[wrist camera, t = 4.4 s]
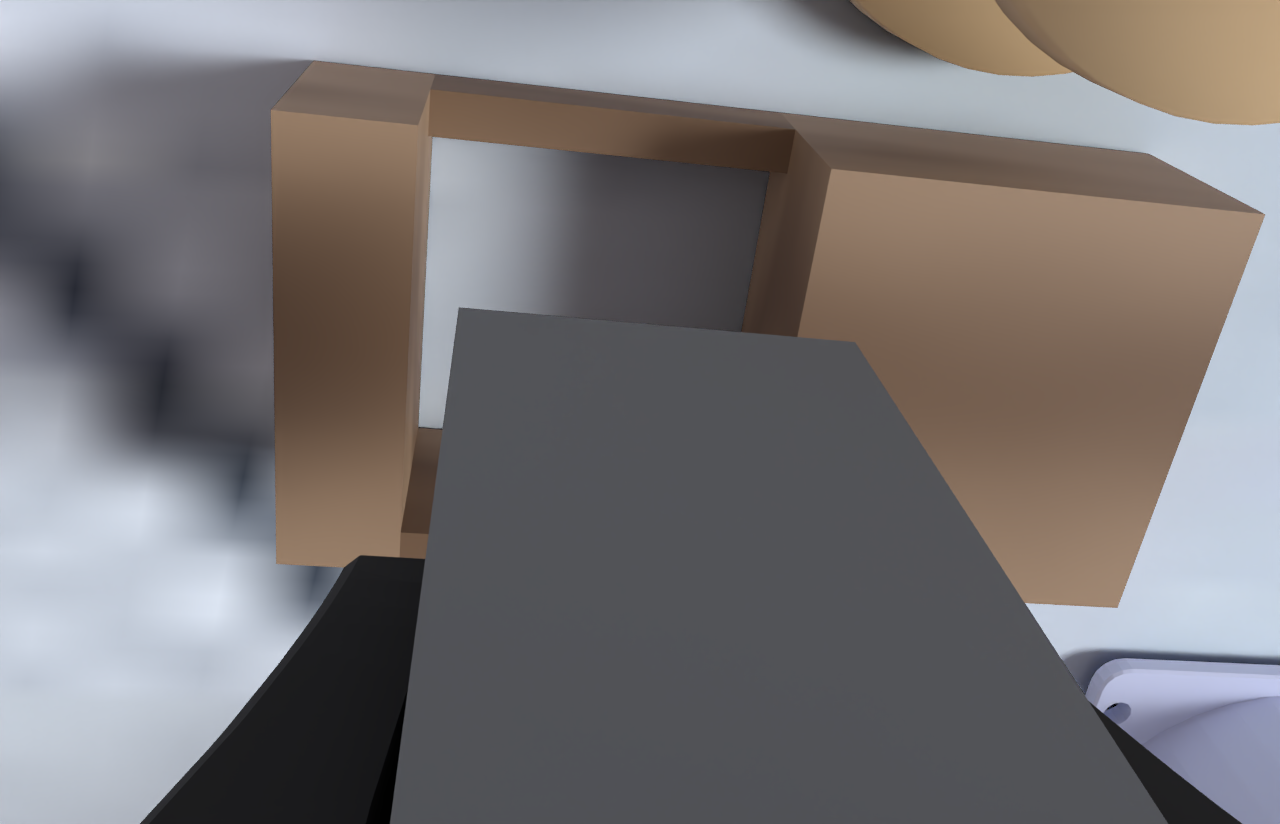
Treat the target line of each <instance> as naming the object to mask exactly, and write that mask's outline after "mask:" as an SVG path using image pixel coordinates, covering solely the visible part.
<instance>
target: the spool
mask: <svg viewBox="0 0 1280 824" xmlns="http://www.w3.org/2000/svg"><path fill="white" fill-rule="evenodd" d="M849 1H850V2H851V3H852V4H853V5H854V6H855V7H856V8H857V9H859V10H860V11H861V12H862V13H863V14H865V15H866V16H867V17H869V18H870V19H871V20H873V21H874V22H875V23H877V24H878V25H879V26H881V27H882V28H884V29H885V30H886V31H888V32H890V33H892V34H893V35H895V36H897V37H899V38H901V39H902V40H904V41H906V42H908V43H910V44H912V45H913V46H915V47H917V48H919V49H921V50H923V51H925V52H927V53H929V54H930V55H932V56H934V57H936V58H939V59H941V60H944V61H947V62H950V63H953V64H956V65H958V66H961V67H964V68H967V69H972V70H977V71H982V72H987V73H992V74H998V75H1012V76H1044V75H1055V74H1066V73H1071V72H1074V73H1076V74H1078V75H1080V76H1082V77H1083V78H1085V79H1087V80H1089V81H1091V82H1093V83H1095V84H1097V85H1100V86H1102V87H1104V88H1106V89H1109V90H1111V91H1113V92H1115V93H1118V94H1120V95H1122V96H1124V97H1126V98H1129V99H1131V100H1133V101H1135V102H1138V103H1140V104H1143V105H1146V106H1148V107H1151V108H1154V109H1157V110H1160V111H1162V112H1165V113H1168V114H1171V115H1174V116H1177V117H1183V118H1188V119H1193V120H1198V121H1203V122H1209V123H1215V124H1238V125H1261V124H1271V123H1280V0H849Z"/></svg>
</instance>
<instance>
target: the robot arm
mask: <svg viewBox="0 0 1280 824" xmlns="http://www.w3.org/2000/svg"><path fill="white" fill-rule="evenodd" d="M424 565H425V559H419V558H402V557H385V556H368V555H360V556H358V557H357V558H356V559H354V560H353V561H352V562H350V563H349V564H348V565H346V566H345V567H344V569H343V570H342V572H341V574H340V576H339V578H338V579H337V581H336V583H335V584H334V586H333V588H332V589H331V591H330V592H329V594H328V595H327V597H326V599H325V600H324V602H323V603H322V605H321V606H320V608H319V609H318V611H317V612H316V614H315V615H314V616H313V618H312V619H311V621H310V622H309V624H308V625H307V626H306V628H305V629H304V631H303V632H302V633H301V635H300V636H299V637H298V639H297V640H296V641H295V643H294V644H293V645H292V647H291V648H290V650H289V651H288V652H287V654H286V655H285V656H284V658H283V659H282V660H281V662H280V663H279V664H278V666H277V667H276V668H275V669H274V670H273V672H272V673H271V674H270V675H269V677H268V678H267V679H266V680H265V682H264V683H263V684H262V685H261V687H260V688H259V689H258V690H257V691H256V693H255V694H254V695H253V696H252V698H251V699H250V700H249V701H248V703H247V704H246V705H245V706H244V708H243V709H242V710H241V711H240V712H239V714H238V715H237V716H236V717H235V719H234V720H233V721H232V722H231V724H230V725H229V726H228V727H227V728H226V730H225V731H224V732H223V733H222V734H221V735H220V737H219V738H218V739H217V740H216V741H215V742H214V744H213V745H212V746H211V747H210V748H209V749H208V750H207V751H206V752H205V754H204V755H203V756H202V757H201V758H200V759H199V760H198V761H197V762H196V763H195V764H194V766H193V767H192V768H191V769H190V770H189V771H188V772H187V773H186V774H185V775H184V776H183V777H182V779H181V780H180V781H179V782H178V783H177V784H176V785H175V786H174V787H173V788H172V789H171V791H170V792H169V793H168V794H167V795H166V796H165V797H164V798H163V799H162V800H161V801H160V803H159V804H158V805H157V806H156V807H155V808H154V809H153V810H152V811H151V812H150V813H149V814H148V816H147V817H146V818H145V819H144V820H143V821H142V822H141V823H140V824H390V820H391V812H392V805H393V797H394V790H395V782H396V775H397V767H398V760H399V752H400V745H401V737H402V730H403V722H404V715H405V707H406V700H407V692H408V685H409V677H410V670H411V662H412V655H413V647H414V640H415V632H416V625H417V617H418V610H419V602H420V595H421V588H422V580H423V573H424ZM1085 697H1086V698H1087V700H1088V701H1089V703H1090V704H1091V706H1092V707H1093V709H1094V710H1095V712H1096V713H1097V715H1098V717H1099V718H1100V720H1101V721H1102V723H1103V724H1104V726H1105V727H1106V729H1107V730H1108V732H1109V733H1110V735H1111V737H1112V738H1113V740H1114V741H1115V743H1116V744H1117V746H1118V747H1119V749H1120V750H1121V752H1122V753H1123V755H1124V757H1125V758H1126V760H1127V761H1128V763H1129V764H1130V766H1131V767H1132V769H1133V770H1134V772H1135V773H1136V775H1137V777H1138V778H1139V780H1140V781H1141V783H1142V784H1143V786H1144V787H1145V789H1146V790H1147V792H1148V793H1149V795H1150V797H1151V798H1152V800H1153V801H1154V803H1155V804H1156V806H1157V807H1158V809H1159V810H1160V812H1161V813H1162V815H1163V817H1164V818H1165V820H1166V821H1167V823H1168V824H1280V665H1262V664H1240V663H1218V662H1197V661H1175V660H1153V659H1131V658H1123V659H1115V660H1112V661H1110V662H1107V663H1105V664H1104V665H1102V666H1101V667H1100V668H1099V669H1098V670H1097V671H1096V672H1095V674H1094V675H1093V677H1092V679H1091V681H1090V684H1089V686H1088V689H1087V692H1086V694H1085ZM1115 703H1118V704H1117V705H1116V706H1115V707H1113V708H1111V709H1108V710H1106V709H1107V708H1108V707H1109V706H1111V705H1113V704H1115Z"/></svg>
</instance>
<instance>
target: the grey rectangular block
mask: <svg viewBox="0 0 1280 824" xmlns="http://www.w3.org/2000/svg"><path fill="white" fill-rule="evenodd" d="M390 824H1168V823H1167V821H1166V820H1165V818H1164V817H1163V815H1162V813H1161V812H1160V810H1159V809H1158V807H1157V806H1156V804H1155V803H1154V801H1153V800H1152V798H1151V797H1150V795H1149V793H1148V792H1147V790H1146V789H1145V787H1144V786H1143V784H1142V783H1141V781H1140V780H1139V778H1138V777H1137V775H1136V773H1135V772H1134V770H1133V769H1132V767H1131V766H1130V764H1129V763H1128V761H1127V760H1126V758H1125V757H1124V755H1123V753H1122V752H1121V750H1120V749H1119V747H1118V746H1117V744H1116V743H1115V741H1114V740H1113V738H1112V737H1111V735H1110V733H1109V732H1108V730H1107V729H1106V727H1105V726H1104V724H1103V723H1102V721H1101V720H1100V718H1099V717H1098V715H1097V713H1096V712H1095V710H1094V709H1093V707H1092V706H1091V704H1090V703H1089V701H1088V700H1087V698H1086V697H1085V695H1084V693H1083V692H1082V690H1081V689H1080V687H1079V686H1078V684H1077V683H1076V681H1075V680H1074V678H1073V677H1072V675H1071V673H1070V672H1069V670H1068V669H1067V667H1066V666H1065V664H1064V663H1063V661H1062V660H1061V658H1060V657H1059V655H1058V653H1057V652H1056V650H1055V649H1054V647H1053V646H1052V644H1051V643H1050V641H1049V640H1048V638H1047V637H1046V635H1045V634H1044V632H1043V630H1042V629H1041V627H1040V626H1039V624H1038V623H1037V621H1036V620H1035V618H1034V617H1033V615H1032V614H1031V612H1030V610H1029V609H1028V607H1027V606H1026V604H1025V603H1024V601H1023V600H1022V598H1021V597H1020V595H1019V594H1018V592H1017V590H1016V589H1015V587H1014V586H1013V584H1012V583H1011V581H1010V580H1009V578H1008V577H1007V575H1006V574H1005V572H1004V570H1003V569H1002V567H1001V566H1000V564H999V563H998V561H997V560H996V558H995V557H994V555H993V554H992V552H991V550H990V549H989V547H988V546H987V544H986V543H985V541H984V540H983V538H982V537H981V535H980V534H979V532H978V530H977V529H976V527H975V526H974V524H973V523H972V521H971V520H970V518H969V517H968V515H967V514H966V512H965V510H964V509H963V507H962V506H961V504H960V503H959V501H958V500H957V498H956V497H955V495H954V494H953V492H952V490H951V489H950V487H949V486H948V484H947V483H946V481H945V480H944V478H943V477H942V475H941V474H940V472H939V470H938V469H937V467H936V466H935V464H934V463H933V461H932V460H931V458H930V457H929V455H928V454H927V452H926V450H925V449H924V447H923V446H922V444H921V443H920V441H919V440H918V438H917V437H916V435H915V434H914V432H913V430H912V429H911V427H910V426H909V424H908V423H907V421H906V420H905V418H904V417H903V415H902V414H901V412H900V410H899V409H898V407H897V406H896V404H895V403H894V401H893V400H892V398H891V397H890V395H889V394H888V392H887V390H886V389H885V387H884V386H883V384H882V383H881V381H880V380H879V378H878V377H877V375H876V374H875V372H874V370H873V369H872V367H871V366H870V364H869V363H868V361H867V360H866V358H865V357H864V355H863V354H862V352H861V350H860V349H859V347H858V346H857V344H856V343H855V342H848V341H837V340H825V339H814V338H802V337H791V336H779V335H768V334H756V333H745V332H733V331H722V330H710V329H699V328H687V327H676V326H665V325H653V324H642V323H630V322H619V321H607V320H596V319H584V318H573V317H561V316H550V315H538V314H527V313H515V312H504V311H492V310H481V309H470V308H459V310H458V318H457V325H456V333H455V340H454V348H453V355H452V363H451V370H450V378H449V385H448V393H447V400H446V408H445V415H444V423H443V430H442V438H441V445H440V453H439V460H438V468H437V475H436V483H435V490H434V498H433V505H432V513H431V520H430V528H429V535H428V543H427V550H426V558H425V565H424V573H423V580H422V588H421V595H420V602H419V610H418V617H417V625H416V632H415V640H414V647H413V655H412V662H411V670H410V677H409V685H408V692H407V700H406V707H405V715H404V722H403V730H402V737H401V745H400V752H399V760H398V767H397V775H396V782H395V790H394V797H393V805H392V812H391V820H390Z"/></svg>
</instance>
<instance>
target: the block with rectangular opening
mask: <svg viewBox="0 0 1280 824" xmlns="http://www.w3.org/2000/svg"><path fill="white" fill-rule="evenodd" d="M432 137H441V138H451V139H461V140H470V141H480V142H489V143H499V144H509V145H518V146H528V147H537V148H547V149H557V150H566V151H576V152H585V153H595V154H605V155H614V156H624V157H634V158H643V159H653V160H662V161H672V162H682V163H691V164H701V165H710V166H720V167H730V168H739V169H749V170H758V171H768V172H770V174H769V180H768V185H767V191H766V196H765V202H764V207H763V213H762V219H761V224H760V230H759V235H758V241H757V246H756V252H755V258H754V263H753V269H752V274H751V280H750V285H749V291H748V297H747V302H746V308H745V313H744V319H743V324H742V330H741V332H745V333H756V334H768V335H779V336H791V337H802V338H814V339H825V340H837V341H848V342H855V343H856V344H857V346H858V347H859V349H860V350H861V352H862V354H863V355H864V357H865V358H866V360H867V361H868V363H869V364H870V366H871V367H872V369H873V370H874V372H875V374H876V375H877V377H878V378H879V380H880V381H881V383H882V384H883V386H884V387H885V389H886V390H887V392H888V394H889V395H890V397H891V398H892V400H893V401H894V403H895V404H896V406H897V407H898V409H899V410H900V412H901V414H902V415H903V417H904V418H905V420H906V421H907V423H908V424H909V426H910V427H911V429H912V430H913V432H914V434H915V435H916V437H917V438H918V440H919V441H920V443H921V444H922V446H923V447H924V449H925V450H926V452H927V454H928V455H929V457H930V458H931V460H932V461H933V463H934V464H935V466H936V467H937V469H938V470H939V472H940V474H941V475H942V477H943V478H944V480H945V481H946V483H947V484H948V486H949V487H950V489H951V490H952V492H953V494H954V495H955V497H956V498H957V500H958V501H959V503H960V504H961V506H962V507H963V509H964V510H965V512H966V514H967V515H968V517H969V518H970V520H971V521H972V523H973V524H974V526H975V527H976V529H977V530H978V532H979V534H980V535H981V537H982V538H983V540H984V541H985V543H986V544H987V546H988V547H989V549H990V550H991V552H992V554H993V555H994V557H995V558H996V560H997V561H998V563H999V564H1000V566H1001V567H1002V569H1003V570H1004V572H1005V574H1006V575H1007V577H1008V578H1009V580H1010V581H1011V583H1012V584H1013V586H1014V587H1015V589H1016V590H1017V592H1018V594H1019V595H1020V597H1021V598H1022V600H1023V601H1024V603H1035V604H1055V605H1074V606H1093V607H1112V608H1117V607H1118V604H1119V602H1120V599H1121V597H1122V594H1123V591H1124V589H1125V586H1126V583H1127V581H1128V578H1129V575H1130V573H1131V570H1132V567H1133V565H1134V562H1135V559H1136V557H1137V554H1138V551H1139V549H1140V546H1141V543H1142V541H1143V538H1144V535H1145V533H1146V530H1147V527H1148V525H1149V522H1150V519H1151V517H1152V514H1153V511H1154V509H1155V506H1156V503H1157V501H1158V498H1159V495H1160V493H1161V490H1162V487H1163V485H1164V482H1165V480H1166V477H1167V474H1168V472H1169V469H1170V466H1171V464H1172V461H1173V458H1174V456H1175V453H1176V450H1177V448H1178V445H1179V442H1180V440H1181V437H1182V434H1183V432H1184V429H1185V426H1186V424H1187V421H1188V418H1189V416H1190V413H1191V410H1192V408H1193V405H1194V402H1195V400H1196V397H1197V394H1198V392H1199V389H1200V386H1201V384H1202V381H1203V378H1204V376H1205V373H1206V370H1207V368H1208V365H1209V363H1210V360H1211V357H1212V355H1213V352H1214V349H1215V347H1216V344H1217V341H1218V339H1219V336H1220V333H1221V331H1222V328H1223V325H1224V323H1225V320H1226V317H1227V315H1228V312H1229V309H1230V307H1231V304H1232V301H1233V299H1234V296H1235V293H1236V291H1237V288H1238V285H1239V283H1240V280H1241V277H1242V275H1243V272H1244V269H1245V267H1246V264H1247V261H1248V259H1249V256H1250V253H1251V251H1252V248H1253V246H1254V243H1255V240H1256V238H1257V235H1258V232H1259V230H1260V227H1261V224H1262V222H1263V219H1264V216H1265V214H1263V213H1261V212H1259V211H1258V210H1256V209H1254V208H1252V207H1250V206H1248V205H1246V204H1244V203H1242V202H1240V201H1238V200H1236V199H1235V198H1233V197H1231V196H1229V195H1227V194H1225V193H1223V192H1221V191H1219V190H1217V189H1215V188H1213V187H1211V186H1210V185H1208V184H1206V183H1204V182H1202V181H1200V180H1198V179H1196V178H1194V177H1192V176H1190V175H1188V174H1187V173H1185V172H1183V171H1181V170H1179V169H1177V168H1175V167H1173V166H1171V165H1169V164H1167V163H1165V162H1164V161H1162V160H1160V159H1158V158H1156V157H1154V156H1152V155H1150V154H1146V153H1137V152H1128V151H1119V150H1110V149H1101V148H1092V147H1083V146H1074V145H1065V144H1056V143H1047V142H1038V141H1029V140H1020V139H1011V138H1002V137H993V136H984V135H975V134H966V133H957V132H948V131H940V130H931V129H922V128H913V127H904V126H895V125H886V124H877V123H868V122H859V121H850V120H841V119H832V118H823V117H814V116H805V115H796V114H787V113H778V112H769V111H760V110H751V109H742V108H733V107H724V106H715V105H706V104H697V103H688V102H679V101H670V100H661V99H652V98H644V97H635V96H626V95H617V94H608V93H599V92H590V91H581V90H572V89H563V88H554V87H545V86H536V85H527V84H518V83H509V82H500V81H491V80H482V79H473V78H464V77H455V76H446V75H437V74H428V73H419V72H410V71H401V70H392V69H383V68H374V67H365V66H356V65H347V64H339V63H330V62H321V61H313V62H312V63H311V64H310V66H309V67H308V68H307V69H306V70H305V71H304V72H303V74H302V75H301V76H300V77H299V78H298V79H297V80H296V82H295V83H294V84H293V85H292V86H291V87H290V88H289V90H288V91H287V92H286V93H285V94H284V95H283V96H282V98H281V99H280V100H279V101H278V102H277V103H276V105H275V106H274V107H273V108H272V109H271V167H272V247H273V327H274V408H275V488H276V564H289V565H308V566H327V567H345V566H346V565H348V564H349V563H350V562H352V561H353V560H354V559H356V558H357V557H358V556H360V555H368V556H385V557H402V558H419V559H425V558H426V550H427V543H428V535H429V528H430V520H431V513H432V505H433V498H434V490H435V483H436V475H437V468H438V460H439V453H440V445H441V438H442V430H441V429H426V428H418V421H419V400H420V380H421V359H422V339H423V318H424V298H425V277H426V257H427V236H428V216H429V195H430V175H431V154H432Z"/></svg>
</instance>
